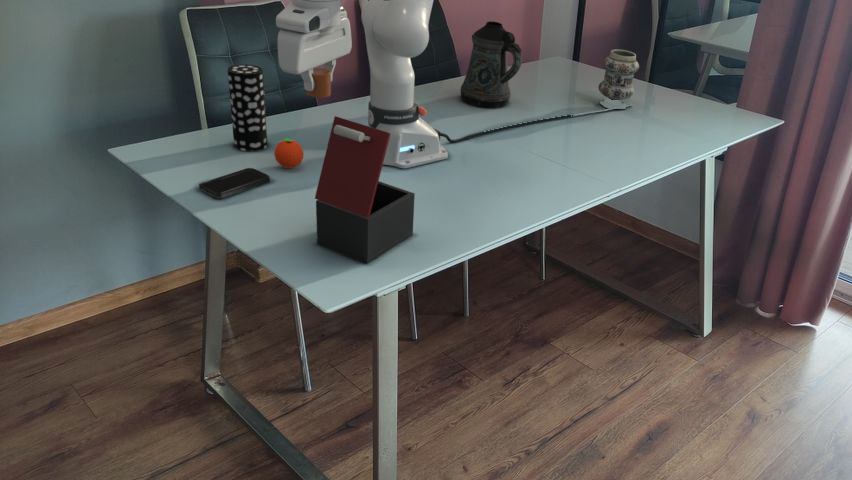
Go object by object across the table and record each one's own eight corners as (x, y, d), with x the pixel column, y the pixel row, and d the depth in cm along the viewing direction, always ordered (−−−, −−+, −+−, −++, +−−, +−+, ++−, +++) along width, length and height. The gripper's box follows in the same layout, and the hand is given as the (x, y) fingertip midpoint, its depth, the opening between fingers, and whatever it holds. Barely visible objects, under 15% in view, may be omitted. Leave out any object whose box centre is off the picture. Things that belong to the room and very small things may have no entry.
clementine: (272, 161, 191) (270, 134, 187) (300, 159, 194) (299, 132, 190) (277, 173, 185) (276, 146, 181) (306, 171, 187) (305, 144, 184)
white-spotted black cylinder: (258, 153, 194) (252, 76, 184) (228, 148, 195) (221, 70, 185) (273, 142, 201) (268, 67, 191) (243, 137, 202) (237, 62, 192)
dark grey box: (364, 217, 170) (365, 176, 164) (412, 235, 165) (414, 193, 160) (317, 244, 157) (315, 200, 152) (367, 264, 152) (368, 219, 147)
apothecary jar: (633, 113, 254) (643, 59, 244) (597, 109, 253) (606, 55, 244) (628, 101, 264) (638, 49, 255) (594, 98, 264) (603, 46, 254)
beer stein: (464, 89, 257) (470, 13, 244) (521, 98, 256) (530, 21, 243) (455, 104, 243) (461, 24, 230) (515, 113, 241) (524, 33, 229)
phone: (272, 176, 180) (218, 195, 169) (272, 181, 180) (218, 199, 170) (250, 166, 183) (196, 184, 173) (250, 171, 184) (196, 188, 173)
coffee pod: (323, 89, 152) (323, 67, 149) (334, 96, 149) (334, 73, 146) (302, 91, 149) (301, 69, 147) (313, 98, 146) (312, 76, 144)
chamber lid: (337, 116, 149) (321, 112, 145) (391, 133, 144) (377, 129, 140) (316, 198, 152) (301, 197, 148) (369, 217, 147) (354, 217, 143)
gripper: (331, 1, 150) (332, 70, 157) (269, 19, 133) (274, 95, 140) (359, 6, 148) (359, 76, 156) (300, 25, 132) (303, 102, 139)
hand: (318, 86), depth 148 cm, fingers closed on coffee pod, 4 cm apart
